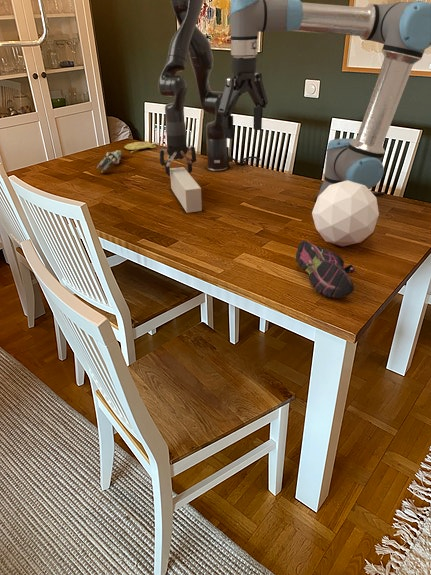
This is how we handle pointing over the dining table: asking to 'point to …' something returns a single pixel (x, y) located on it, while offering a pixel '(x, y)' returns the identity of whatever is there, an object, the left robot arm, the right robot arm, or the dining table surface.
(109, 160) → the figurine
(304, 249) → the athletic shoe
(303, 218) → the dining table surface
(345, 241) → the sphere
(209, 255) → the dining table surface
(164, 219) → the dining table surface
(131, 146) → the decorative object
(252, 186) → the dining table surface
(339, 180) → the right robot arm
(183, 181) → the bar
